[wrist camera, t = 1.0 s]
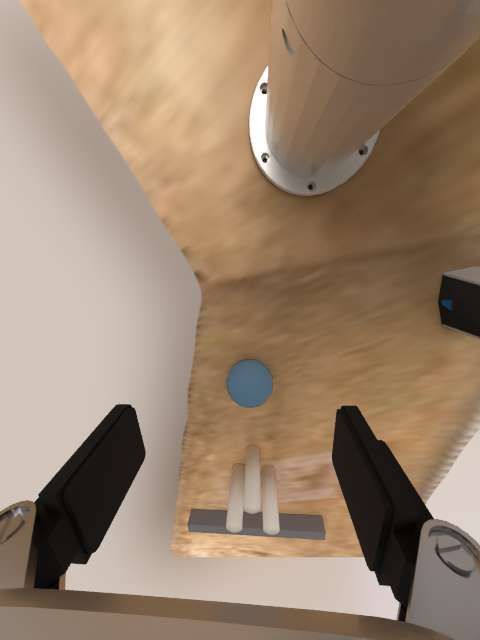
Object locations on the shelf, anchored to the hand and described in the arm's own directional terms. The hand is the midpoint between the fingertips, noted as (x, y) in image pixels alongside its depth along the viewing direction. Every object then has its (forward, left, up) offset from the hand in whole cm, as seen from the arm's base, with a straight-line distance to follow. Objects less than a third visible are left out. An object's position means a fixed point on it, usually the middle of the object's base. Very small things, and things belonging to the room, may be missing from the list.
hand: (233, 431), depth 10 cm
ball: (+9, 0, -17) cm, 20 cm away
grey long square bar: (+40, 0, -20) cm, 45 cm away
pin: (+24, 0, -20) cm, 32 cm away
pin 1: (+28, -3, -20) cm, 35 cm away
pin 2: (+28, +2, -20) cm, 35 cm away
